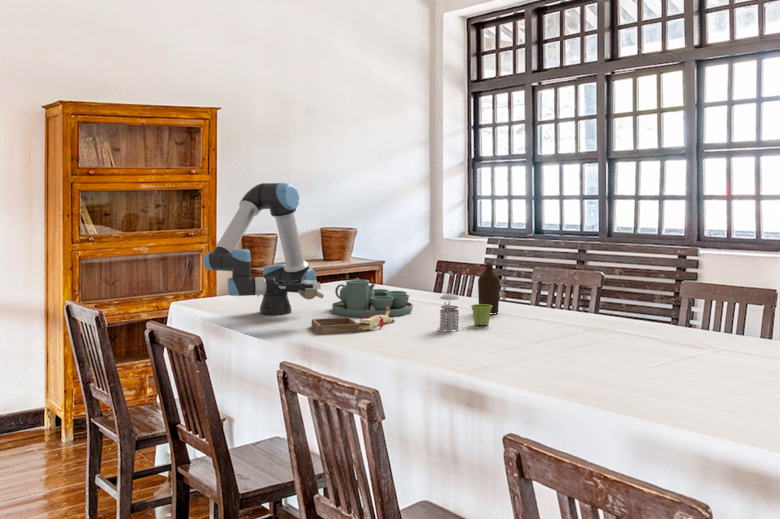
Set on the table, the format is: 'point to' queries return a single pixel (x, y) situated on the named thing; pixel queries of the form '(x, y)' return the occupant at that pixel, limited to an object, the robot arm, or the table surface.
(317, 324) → the tray
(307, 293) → the ceramic mug
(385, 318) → the cat figure
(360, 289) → the tea set
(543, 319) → the table surface
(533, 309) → the table surface
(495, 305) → the olive oil
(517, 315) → the table surface
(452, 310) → the french press
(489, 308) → the plant pot
